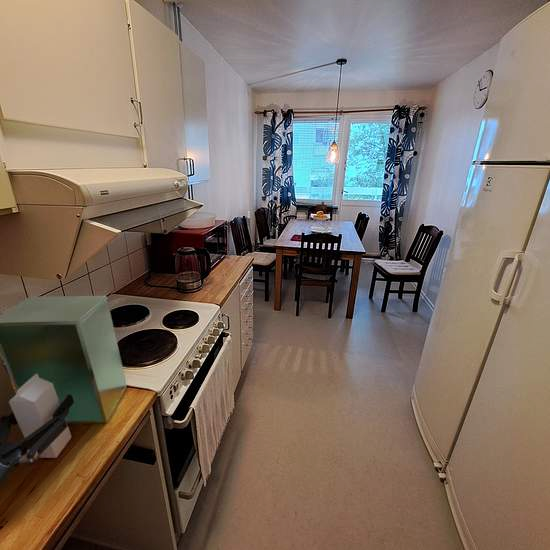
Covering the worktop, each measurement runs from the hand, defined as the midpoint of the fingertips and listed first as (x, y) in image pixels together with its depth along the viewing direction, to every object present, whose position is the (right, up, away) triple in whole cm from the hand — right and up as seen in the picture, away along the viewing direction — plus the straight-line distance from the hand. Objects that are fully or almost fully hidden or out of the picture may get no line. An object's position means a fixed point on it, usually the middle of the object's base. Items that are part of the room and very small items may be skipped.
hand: (51, 399), depth 75 cm
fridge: (-1, -8, +13) cm, 15 cm away
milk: (0, -13, 0) cm, 13 cm away
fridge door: (-13, -14, -5) cm, 20 cm away
